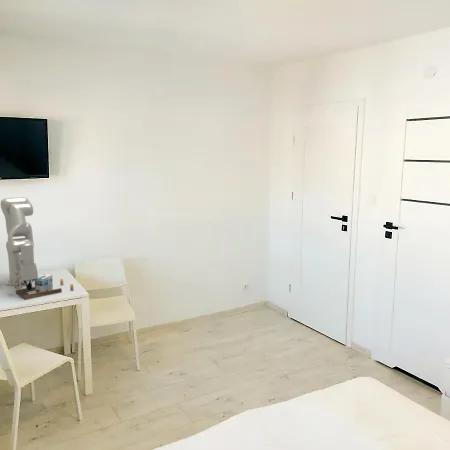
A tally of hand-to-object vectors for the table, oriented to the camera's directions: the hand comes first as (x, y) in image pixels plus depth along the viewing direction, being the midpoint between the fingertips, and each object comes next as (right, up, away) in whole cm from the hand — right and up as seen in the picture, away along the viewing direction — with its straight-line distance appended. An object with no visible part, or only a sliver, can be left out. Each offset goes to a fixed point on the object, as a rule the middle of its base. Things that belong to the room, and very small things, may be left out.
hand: (29, 289), depth 296 cm
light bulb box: (+7, -3, +7) cm, 10 cm away
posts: (+18, -1, +17) cm, 25 cm away
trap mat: (-2, -4, -1) cm, 5 cm away
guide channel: (+4, -3, +5) cm, 7 cm away
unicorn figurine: (-10, -1, +16) cm, 19 cm away
